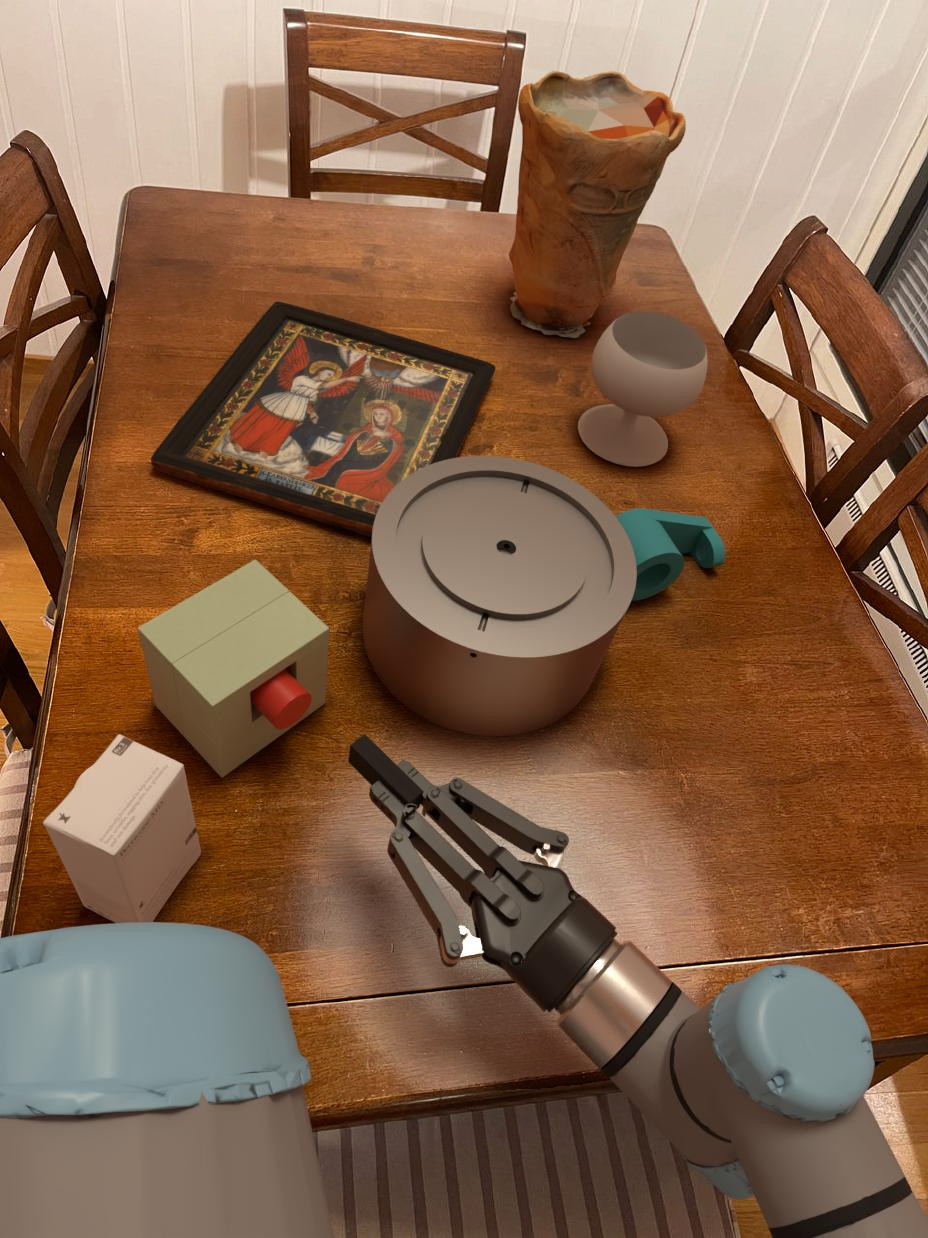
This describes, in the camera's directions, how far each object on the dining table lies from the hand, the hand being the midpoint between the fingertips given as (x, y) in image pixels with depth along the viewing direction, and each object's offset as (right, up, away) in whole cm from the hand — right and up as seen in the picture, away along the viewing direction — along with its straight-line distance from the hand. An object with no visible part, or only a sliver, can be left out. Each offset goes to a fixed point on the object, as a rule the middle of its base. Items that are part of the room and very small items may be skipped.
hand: (356, 748), depth 69 cm
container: (+10, +9, +24) cm, 28 cm away
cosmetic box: (-18, -11, +4) cm, 21 cm away
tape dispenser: (+30, +15, +33) cm, 48 cm away
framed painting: (-7, +34, +41) cm, 54 cm away
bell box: (-13, +2, +15) cm, 19 cm away
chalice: (+29, +34, +48) cm, 65 cm away
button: (-8, +3, +8) cm, 12 cm away
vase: (+21, +57, +64) cm, 88 cm away
